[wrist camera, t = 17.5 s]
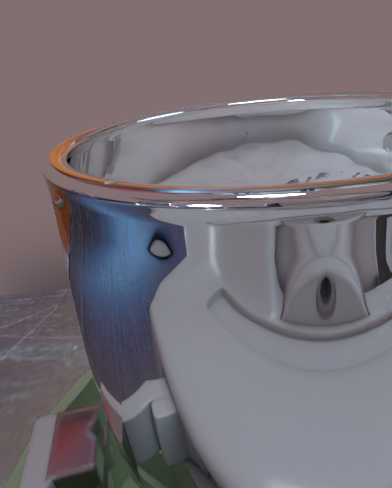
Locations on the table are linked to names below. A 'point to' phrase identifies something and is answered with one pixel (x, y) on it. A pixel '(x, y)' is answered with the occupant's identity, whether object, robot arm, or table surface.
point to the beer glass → (237, 288)
